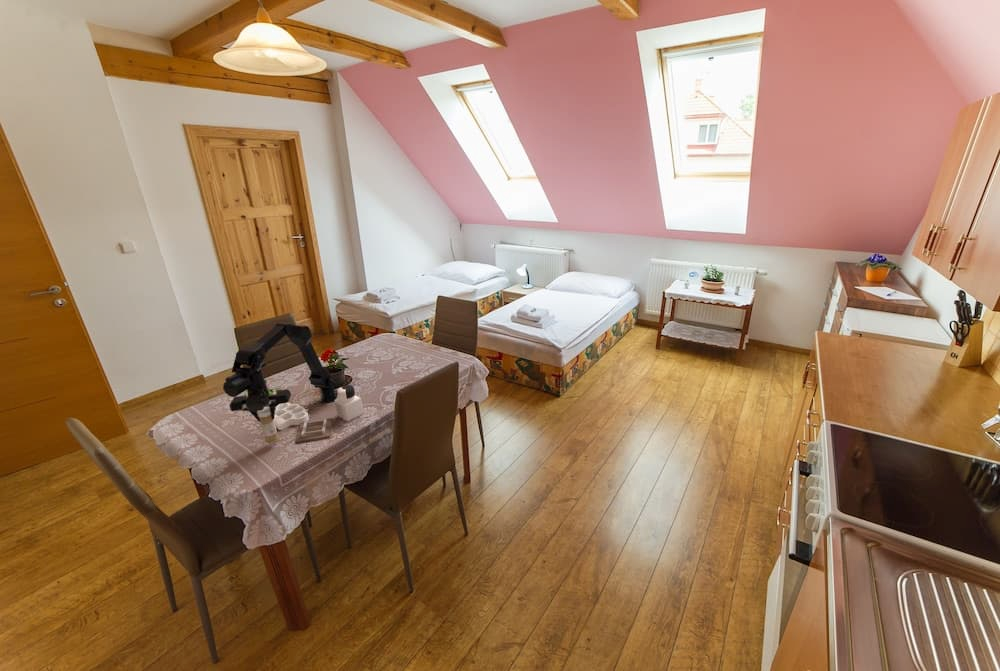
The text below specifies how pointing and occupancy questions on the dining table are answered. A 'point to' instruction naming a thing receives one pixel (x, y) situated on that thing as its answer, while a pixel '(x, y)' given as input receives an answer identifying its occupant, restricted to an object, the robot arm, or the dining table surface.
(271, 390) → the salad plate
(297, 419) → the white compartment tray
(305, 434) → the brown flat square frame
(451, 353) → the dining table surface
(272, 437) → the sprinkles bottle
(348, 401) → the container
